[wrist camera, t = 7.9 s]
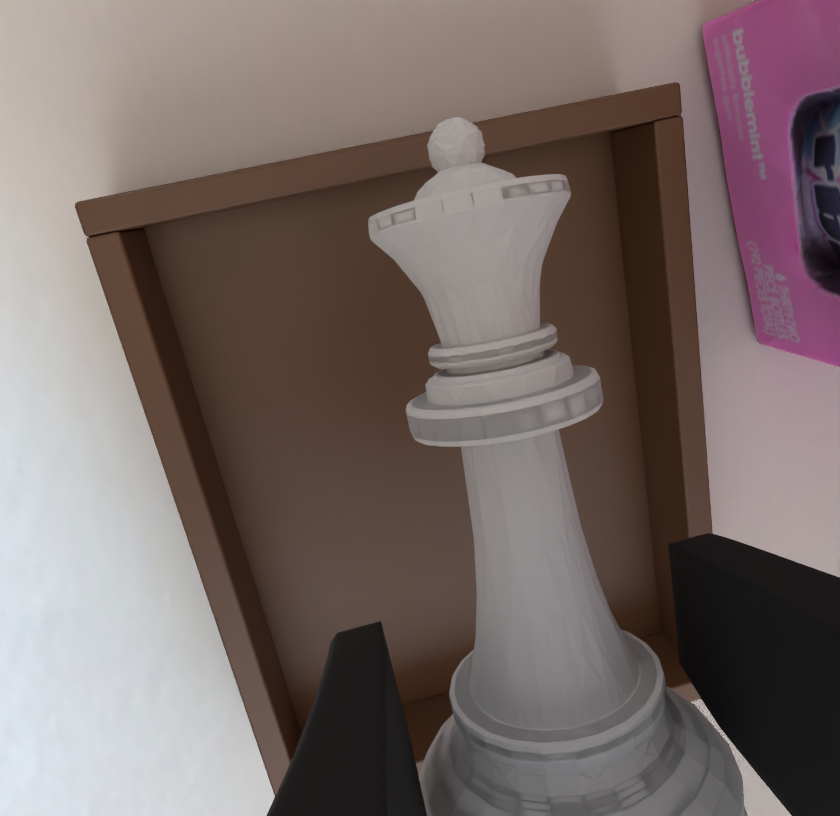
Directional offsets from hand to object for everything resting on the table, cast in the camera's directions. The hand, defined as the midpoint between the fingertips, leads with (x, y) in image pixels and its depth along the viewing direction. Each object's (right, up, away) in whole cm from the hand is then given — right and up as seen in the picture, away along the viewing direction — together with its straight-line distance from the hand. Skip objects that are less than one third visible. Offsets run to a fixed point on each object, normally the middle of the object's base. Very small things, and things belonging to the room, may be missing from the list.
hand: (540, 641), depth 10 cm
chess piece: (+1, -3, 0) cm, 3 cm away
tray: (-1, +2, +7) cm, 8 cm away
